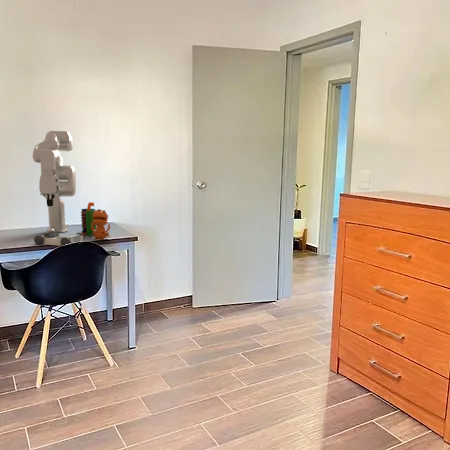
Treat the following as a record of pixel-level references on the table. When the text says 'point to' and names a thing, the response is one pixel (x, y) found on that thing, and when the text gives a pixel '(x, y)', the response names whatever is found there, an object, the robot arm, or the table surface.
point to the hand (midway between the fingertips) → (50, 206)
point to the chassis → (59, 239)
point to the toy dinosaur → (100, 224)
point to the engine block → (51, 233)
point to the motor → (87, 220)
